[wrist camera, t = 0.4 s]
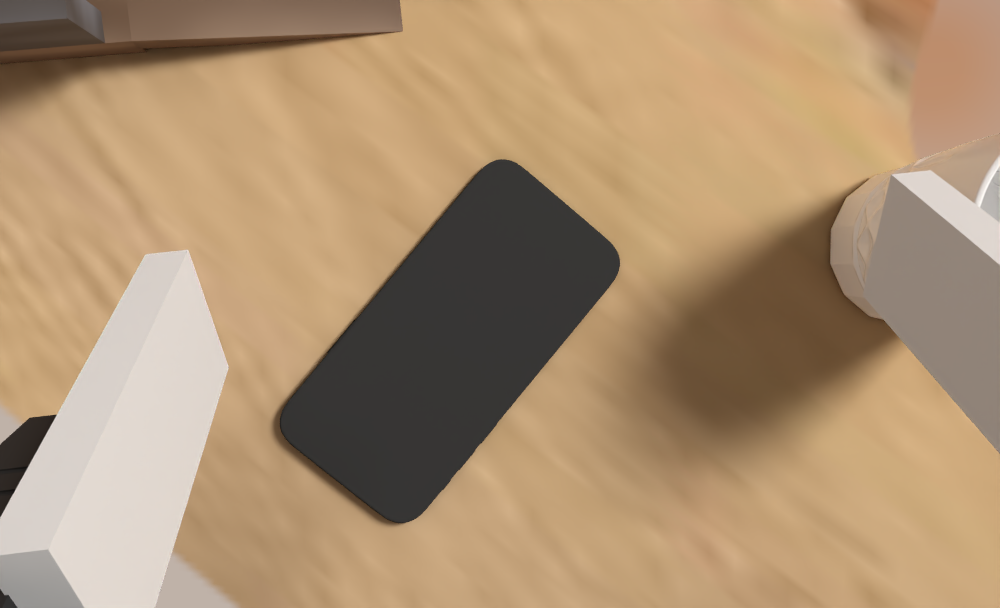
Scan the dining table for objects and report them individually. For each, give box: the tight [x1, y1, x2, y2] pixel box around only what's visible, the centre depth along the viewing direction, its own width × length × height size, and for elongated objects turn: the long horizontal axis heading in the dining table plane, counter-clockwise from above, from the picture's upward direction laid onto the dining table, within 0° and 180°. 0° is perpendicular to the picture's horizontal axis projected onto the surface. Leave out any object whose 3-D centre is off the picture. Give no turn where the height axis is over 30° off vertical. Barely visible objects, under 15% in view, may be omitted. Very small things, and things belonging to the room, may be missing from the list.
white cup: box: [830, 133, 1000, 320], centre depth 29 cm, size 8×8×10 cm
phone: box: [280, 160, 620, 523], centre depth 33 cm, size 7×1×15 cm
